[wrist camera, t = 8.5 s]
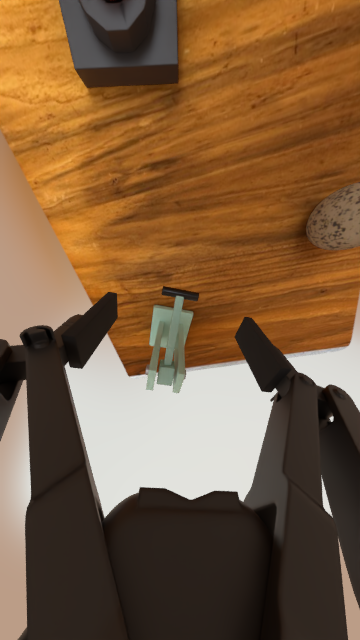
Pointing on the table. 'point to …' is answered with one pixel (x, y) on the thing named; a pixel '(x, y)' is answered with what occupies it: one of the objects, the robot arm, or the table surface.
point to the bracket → (160, 339)
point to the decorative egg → (336, 220)
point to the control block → (122, 41)
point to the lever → (173, 333)
